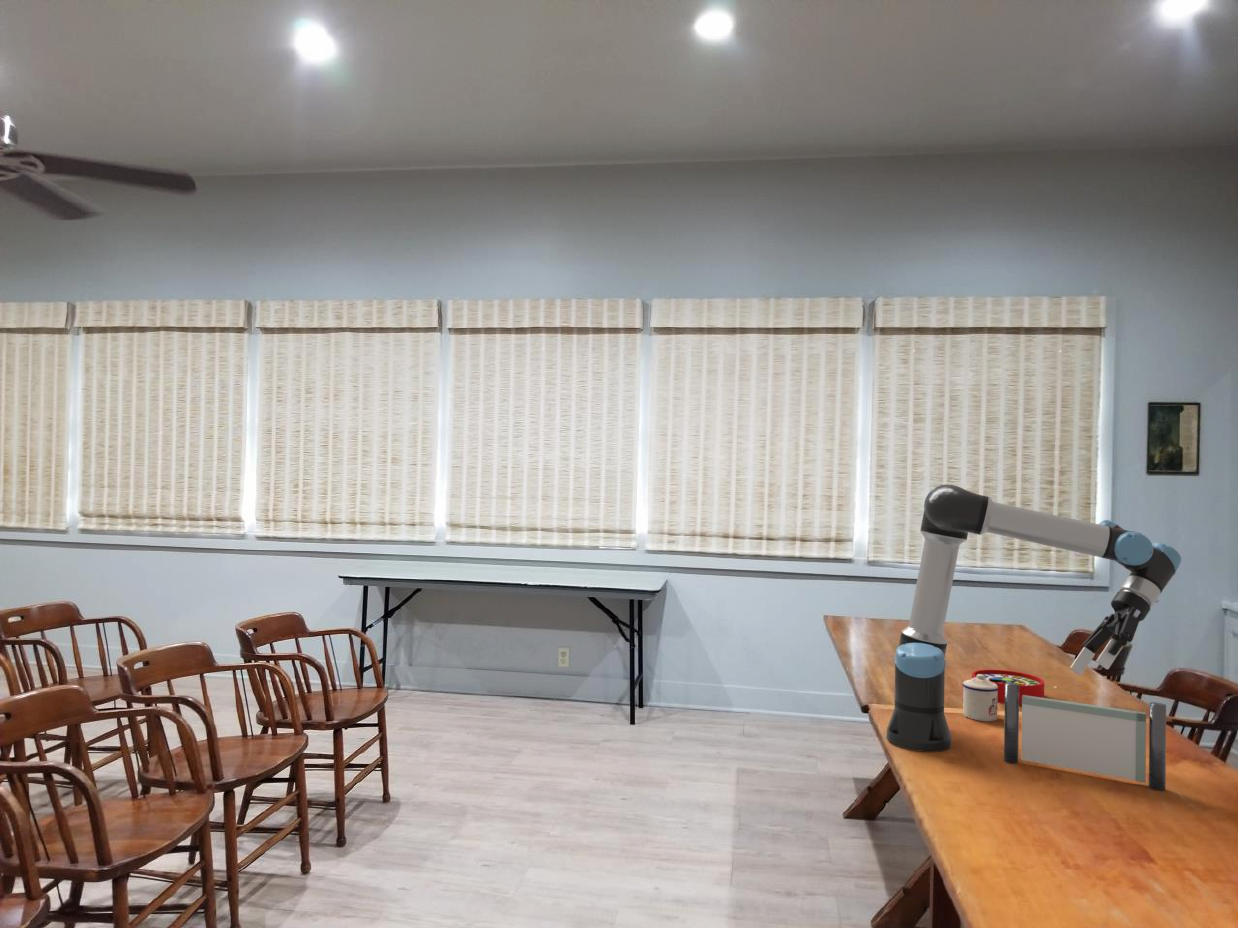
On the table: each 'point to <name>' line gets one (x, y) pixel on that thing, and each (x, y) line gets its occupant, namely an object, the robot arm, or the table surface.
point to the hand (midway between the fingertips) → (1088, 668)
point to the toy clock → (1026, 682)
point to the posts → (1155, 736)
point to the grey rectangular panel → (1084, 737)
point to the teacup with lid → (980, 699)
